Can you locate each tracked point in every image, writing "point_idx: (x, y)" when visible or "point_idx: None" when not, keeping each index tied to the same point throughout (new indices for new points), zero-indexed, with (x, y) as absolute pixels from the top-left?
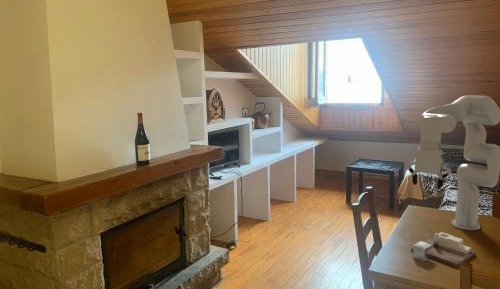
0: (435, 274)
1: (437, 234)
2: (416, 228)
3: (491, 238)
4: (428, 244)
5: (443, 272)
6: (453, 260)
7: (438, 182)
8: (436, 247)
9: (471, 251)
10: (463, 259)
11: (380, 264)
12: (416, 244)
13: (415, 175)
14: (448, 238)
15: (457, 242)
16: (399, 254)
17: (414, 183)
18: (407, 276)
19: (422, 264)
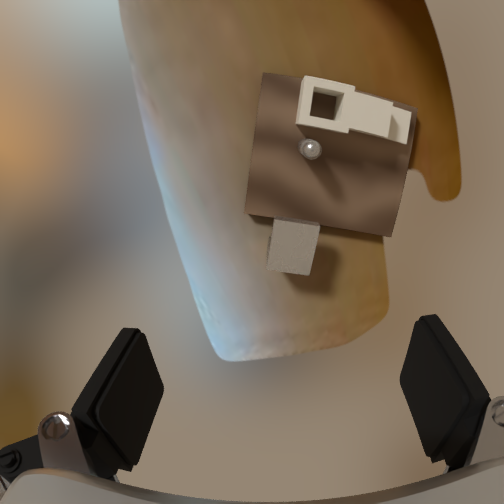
0: (347, 301)
1: (317, 153)
2: (178, 13)
3: None
4: (307, 233)
5: (362, 278)
6: (380, 220)
7: (422, 433)
8: None
9: None
10: (401, 193)
11: (220, 335)
12: (273, 260)
13: (120, 461)
14: (349, 125)
15: (382, 136)
16: (228, 255)
17: (155, 398)
18: (295, 346)
19: None
